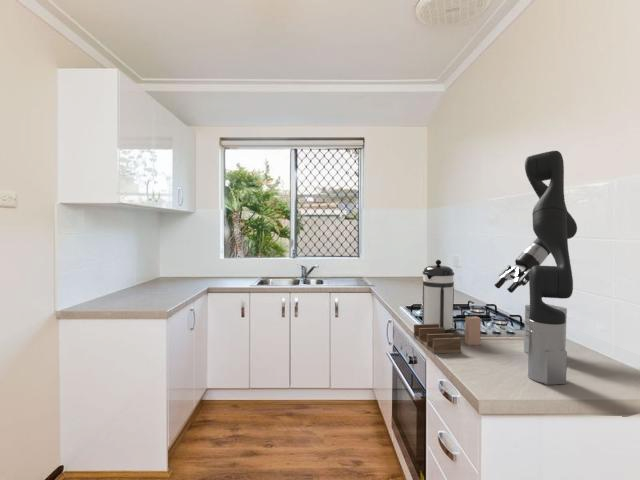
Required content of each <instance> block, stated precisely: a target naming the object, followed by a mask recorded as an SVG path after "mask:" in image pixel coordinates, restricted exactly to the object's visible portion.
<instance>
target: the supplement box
mask: <svg viewBox="0 0 640 480" xmlns="http://www.w3.org/2000/svg"><path fill="white" fill-rule="evenodd" d="M546 304H547V305H549V306H551V307H553V308H556V309H558V310H561V311H562V312H564V313H565V315H566V319H567V316H568V315H567V313H568V309H567V308H566V307H562V306H557V305H554V304H548V303H546ZM529 313H530V304H526V305H525V306H524V334H523V335H524V336H523V337H524V338H523V340H524V341H523V344H524V345H523V352H525V353H526V354H528V347H529ZM566 338H567V321H566V322H565V347H566V346H567V345H566V344H567V343H566V340H567V339H566Z"/></svg>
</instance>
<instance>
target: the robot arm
mask: <svg viewBox="0 0 640 480" xmlns="http://www.w3.org/2000/svg"><path fill="white" fill-rule="evenodd" d="M561 153H562V152H560V151H559V150H551V151H546V152H542V153H537V154H533V155H529V156H527V157H526V158H525V161H524V170H525V174H526V177H527V180H528V182H529V183H530V185H531V187H532V189H533V191H534V192H535V194H536V195H537V197H538V201H537V202H536V204H535V205H534V207H533V210H532V229H533V232H534V235H535V236H536V237H537V238H536V239H535V240H534V241H533V242H531V244H530V245H528V247H526V248H525V249H524V250H523V252H521V254H519V256H518V257H516V258H515V261H514V262H515V265H514V266H511V264H510V265H507V266H506V267H505V268H504V269H503V270H502V271H500V273H499V274H498V276H499V279H498V280H497V281H496V282H495V283H494V287H495V288H496V289H500V288H501V287H502V286H503V285H504V284H505V283H506V282H508V281H511V280H514V281H513V282H512V283H511V284H510V285H509V286H507V289H506V290H507V291H508V292H509V293H511V294H512V293H514V292H515V290H516V289H517V288H518V287H520V286H526V285H527V284H528V285H529V305H530V313H529V347H528V353H527V354H528V357H527V361H528V362H527V377H528V378H530V379H531V380H533V381H535V382H537V383H542V384H544V385H545V386H546V385H547V386H550V385H566V384H567V368H568V366H567V363H568V361H567V360H568V351H567V350H566V346H565V322H566V323H567V318H566V315H565V313H564V312H562V311H561V310H558V309H556V308H553V307H551V306H549V305H550V304H549V305H547V304H548V303H545V302H544V301H543V298H544V299H545V298H547V299H548V298H549V299H570V298H571V296H572V295H573V291H574V277H573V272H572V266H571V259H570V253H569V245H568V244H569V243H568V239H569V240H570V239H572V238H574V237H575V236H576V234H577V231H578V225H577V223H576V220H575V219H574V218H573V217H572V215H571V214H570V212H569V211H568V209H567V205H566V201H565V181H564V180H565V177H564V176H565V166H564V165H565V164H564V158H563V155H562V154H561ZM549 180H550V181H549ZM545 181H549V183H548V185H547V184H546V183H545ZM550 254H551V255H552V257H553V259H554V262H555V264H556V265H541V264H543V262H544V261H545V260H546V259H547V257H548V256H549V255H550Z"/></svg>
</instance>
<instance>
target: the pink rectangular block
mask: <svg viewBox="0 0 640 480" xmlns="http://www.w3.org/2000/svg"><path fill="white" fill-rule="evenodd" d="M464 319H465V320H464V323H465V324H464V327H465V329H464V335H465V336H464V343H465V344H466V345H468V346H480V345H481V326H482V325H481V324H482V323H481V320H482V319H481V318H480V317H479V316H475V315H474V316H465V318H464Z"/></svg>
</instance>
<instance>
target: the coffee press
mask: <svg viewBox="0 0 640 480" xmlns="http://www.w3.org/2000/svg"><path fill="white" fill-rule="evenodd" d="M441 264H442V261H441V259H437V260H436V261H435V265H428V266H426V267H424V269H423V271H422V275H423V279H422V320H421V321H422V323H421V324H439V328H442V327H444V328H445V331H447V330H451V329H453V328H454V329H453V330H455V331H456V327H455V326H454V302H455V300H454V299H455V298H454V296H455V293H454V292H455V291H454V289H455V288H454V287H455V286H454V285H455V284H454V283H455V281H454V276H455V272H454V270H453V269H452V268H451V267H449V266H448V265H447V266H446V265H441Z"/></svg>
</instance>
